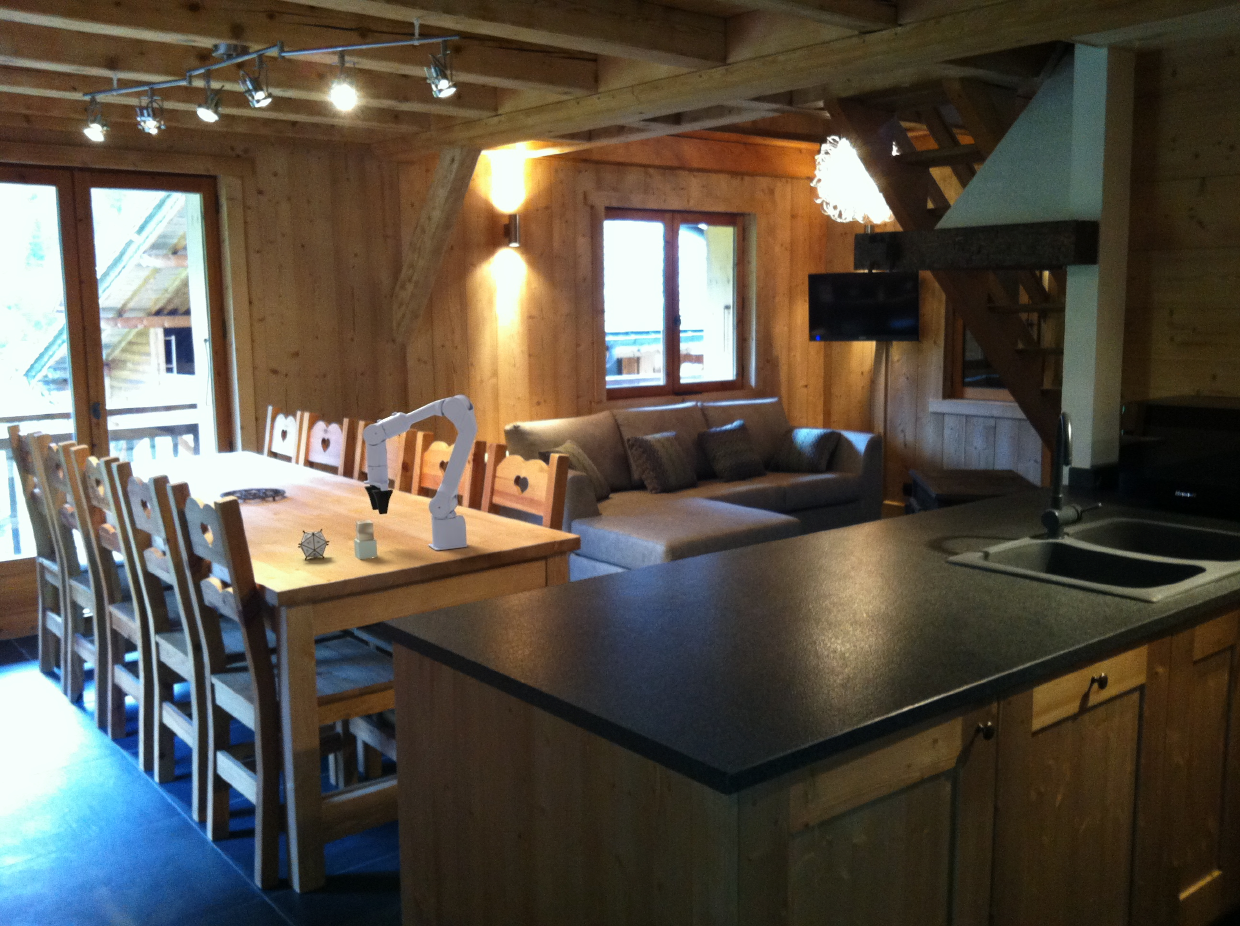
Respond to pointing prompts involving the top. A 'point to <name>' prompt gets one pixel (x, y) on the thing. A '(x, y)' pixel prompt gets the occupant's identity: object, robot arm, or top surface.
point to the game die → (313, 544)
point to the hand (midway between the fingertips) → (379, 511)
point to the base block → (365, 549)
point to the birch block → (364, 530)
